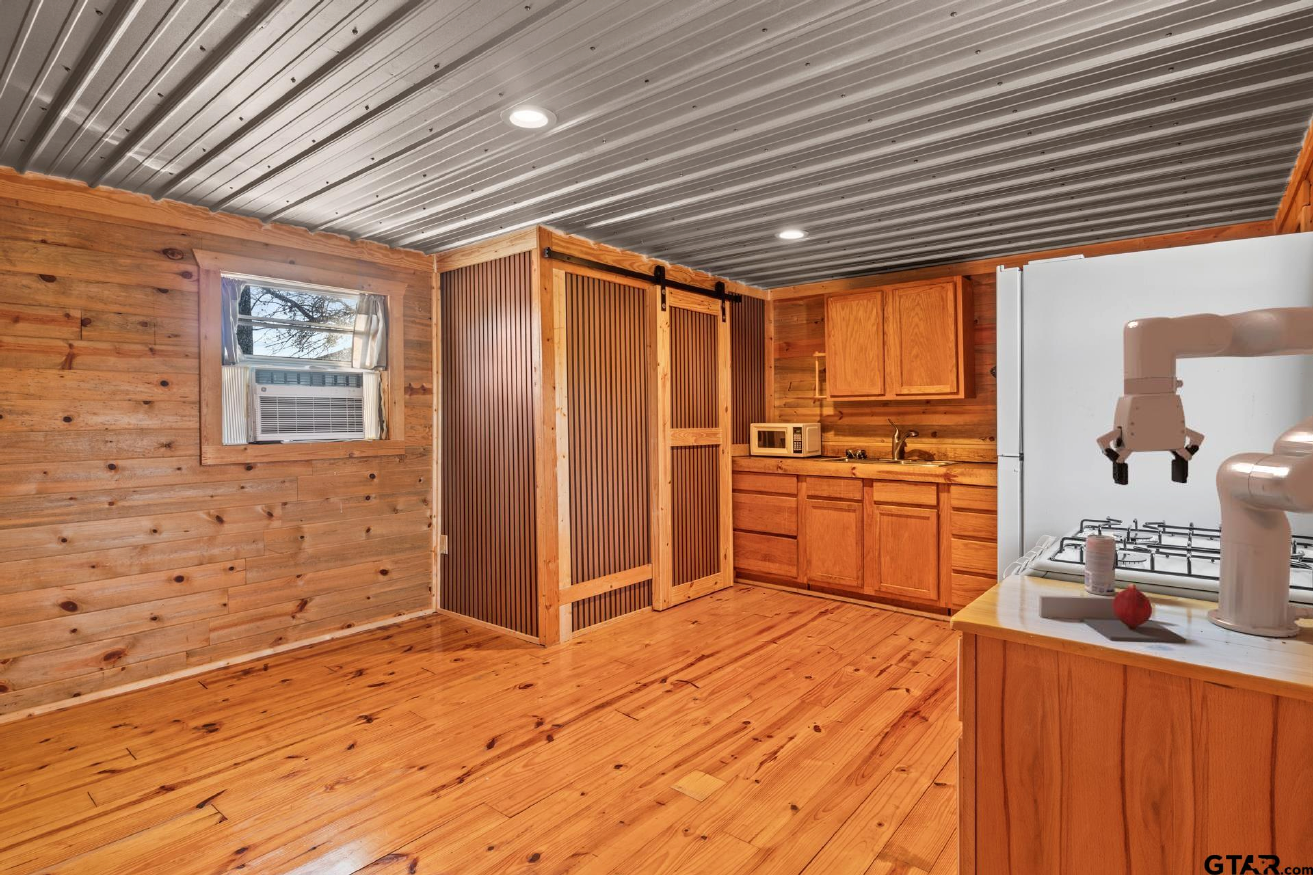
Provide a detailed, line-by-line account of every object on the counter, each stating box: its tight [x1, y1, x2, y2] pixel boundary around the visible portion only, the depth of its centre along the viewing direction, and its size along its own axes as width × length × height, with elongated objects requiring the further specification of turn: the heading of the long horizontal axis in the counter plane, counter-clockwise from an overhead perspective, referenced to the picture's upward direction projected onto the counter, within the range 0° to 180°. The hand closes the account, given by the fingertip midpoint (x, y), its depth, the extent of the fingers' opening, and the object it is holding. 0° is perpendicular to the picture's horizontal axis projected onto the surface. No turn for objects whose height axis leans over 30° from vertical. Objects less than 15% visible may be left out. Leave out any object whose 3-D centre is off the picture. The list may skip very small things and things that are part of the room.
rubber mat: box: [1081, 618, 1187, 644], centre depth 120 cm, size 12×10×1 cm
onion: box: [1112, 583, 1153, 628], centre depth 120 cm, size 6×6×8 cm
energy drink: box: [1084, 534, 1117, 596], centre depth 144 cm, size 5×5×12 cm
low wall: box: [1038, 594, 1150, 620], centre depth 127 cm, size 19×1×4 cm, turn 83°
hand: (1150, 483), depth 120 cm, fingers open, 9 cm apart
